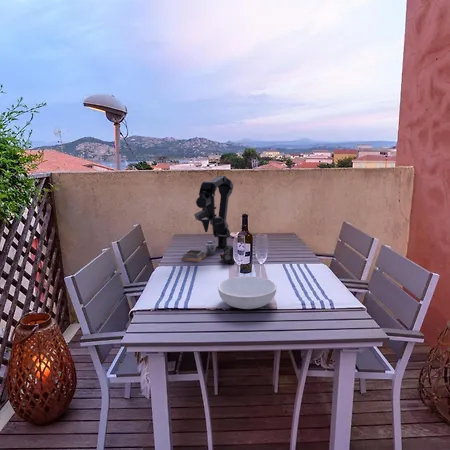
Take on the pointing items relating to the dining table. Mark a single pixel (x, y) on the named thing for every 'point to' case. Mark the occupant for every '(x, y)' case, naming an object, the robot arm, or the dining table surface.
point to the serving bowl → (247, 291)
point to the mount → (193, 255)
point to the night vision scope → (228, 254)
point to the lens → (210, 247)
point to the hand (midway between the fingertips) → (210, 233)
